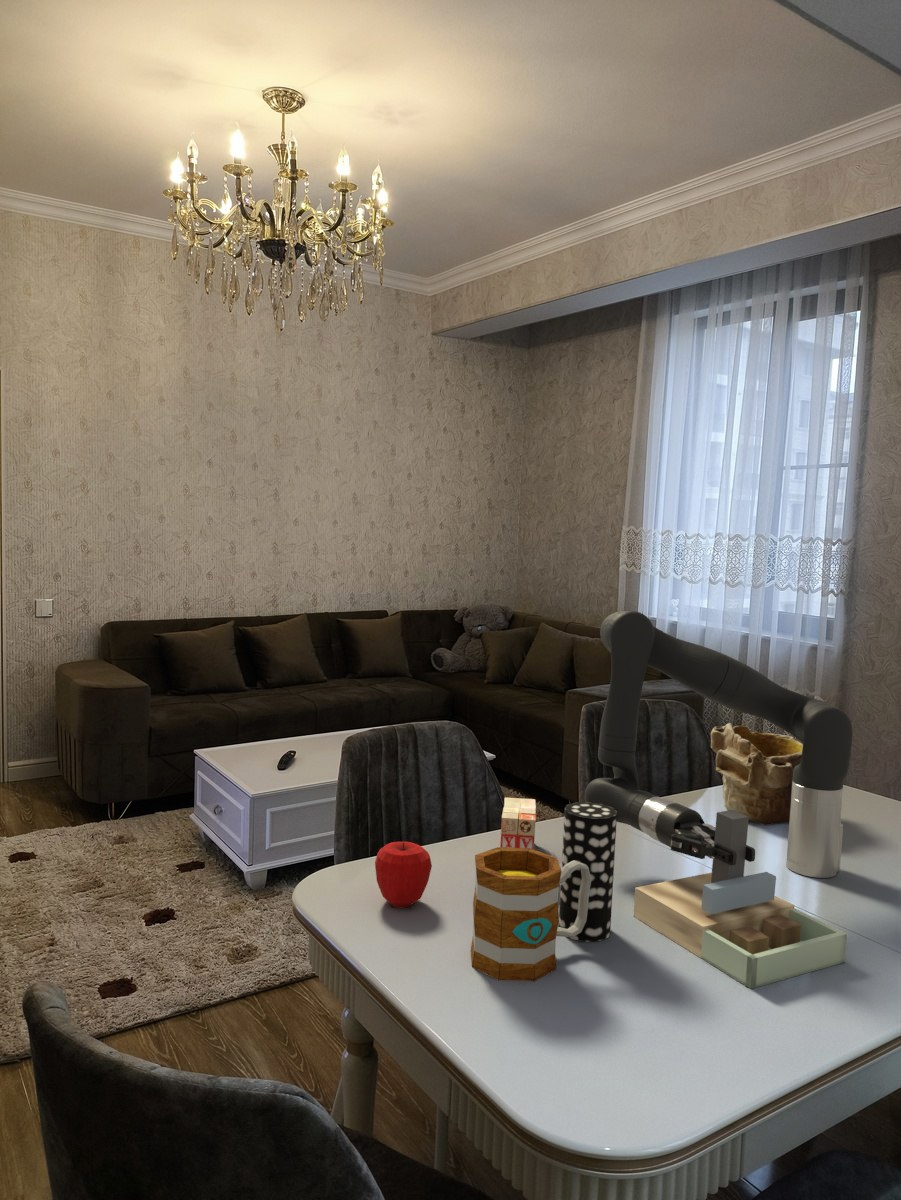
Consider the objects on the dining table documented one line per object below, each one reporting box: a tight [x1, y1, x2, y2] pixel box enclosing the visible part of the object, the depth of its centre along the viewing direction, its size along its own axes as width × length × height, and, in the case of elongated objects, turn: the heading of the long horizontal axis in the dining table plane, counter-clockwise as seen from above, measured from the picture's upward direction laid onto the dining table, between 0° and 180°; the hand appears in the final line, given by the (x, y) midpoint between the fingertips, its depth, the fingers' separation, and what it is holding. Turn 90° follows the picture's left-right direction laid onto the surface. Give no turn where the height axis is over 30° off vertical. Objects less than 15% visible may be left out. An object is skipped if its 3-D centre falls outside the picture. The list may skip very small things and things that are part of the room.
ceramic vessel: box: [710, 722, 803, 826], centre depth 206 cm, size 23×24×25 cm
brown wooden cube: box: [729, 926, 769, 955], centre depth 136 cm, size 4×4×4 cm
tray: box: [700, 907, 848, 990], centre depth 137 cm, size 20×10×4 cm, turn 118°
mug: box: [470, 846, 591, 982], centre depth 134 cm, size 20×14×15 cm
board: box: [633, 872, 795, 959], centre depth 148 cm, size 20×16×5 cm
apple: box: [374, 841, 433, 909], centre depth 152 cm, size 10×10×11 cm
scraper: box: [701, 810, 777, 914], centre depth 144 cm, size 14×6×14 cm, turn 118°
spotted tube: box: [558, 801, 618, 943], centre depth 144 cm, size 8×8×20 cm
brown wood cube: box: [762, 915, 801, 949], centre depth 141 cm, size 4×4×4 cm
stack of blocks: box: [500, 797, 537, 850], centre depth 173 cm, size 21×6×12 cm, turn 174°
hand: (743, 857), depth 142 cm, fingers closed on scraper, 3 cm apart
